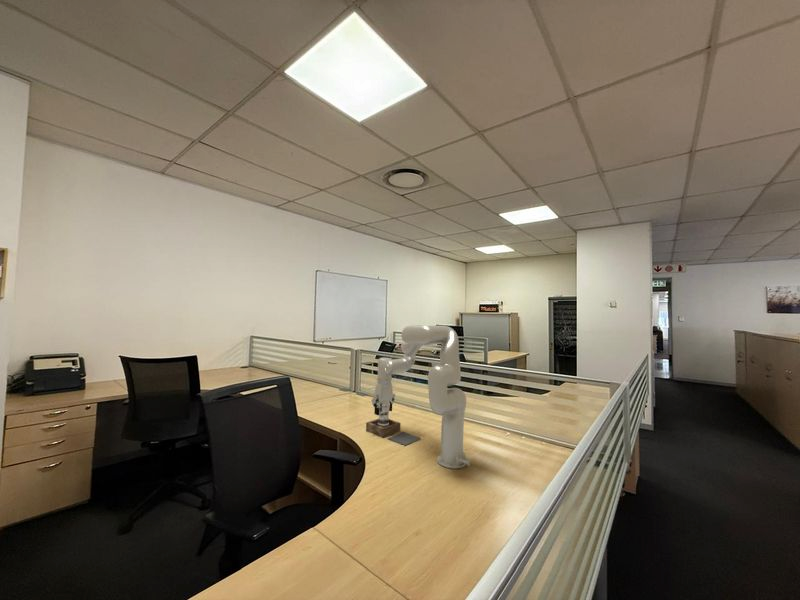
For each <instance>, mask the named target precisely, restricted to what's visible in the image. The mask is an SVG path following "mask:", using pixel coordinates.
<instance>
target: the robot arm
mask: <svg viewBox="0 0 800 600" xmlns="http://www.w3.org/2000/svg"><path fill="white" fill-rule="evenodd" d="M400 334H401V335H400V336H401V339H402V343H401V346H400V348H401V349H400V350H401V351H402V352H403V354H404V355H403V357H402V358H395V359H392V358H391V357H380V358H378V360H377V383H376V384H375V387H374V388H375V389H374V395H373V396H374V397H373V398H372V399H371V404H372V406H373V407H374V415H376V416H379V412H380V408H379V406H380V404H382V403H384V402H385V401H386V400H389V402H390V408H389V412H393V404H394V402H395V398H396V393H393V383H392V380H393V378H392V377H393V376H392V375H397V374H403V373H407V371H409V370H410V369H411V368H412V367H413V365H415V361H416V354H417V352H419V351H420V349H421V348H422V347H423V346H431V345H432V346H434V345H435V346H436V345H441V348H440V351H439V364H436V365H434V366H432V367H431V368H430V369H429V371H428V375H427V385H428V386H427V389H428V390H427V391H428V400H429V405H430V408H431V410H432V413H434V414H435V415H438V416H442V417H441V429H440V431H441V435H440V438H441V439H440V440H441V442H440V454H439V455H438V456H437V458H436V461H437V463H438V464H439V465H440V466H442V467H444V468H447V469H454V470H455V469H462V468H464V467H465V466H469V467H470V465H471V458H469V457H466V452H464V425H465V413H466V407H467V396H466V394H465V392H464V391H463V390H462V389H461V388H457V387H451V386H455V385H457V384H459V383H460V381H461V380H462V375H461V361H460V349H459V348H460V346H459V345H460V342H459V341H460V340H459V336H458V334H457V332H456V330H454V328H452V327H451V326H448V325H421V324H417V325H416V324H415V325H413V324H412V325H407V326H405V327H404V328H403V329H402V331H401V333H400ZM448 387H449V388H448ZM450 387H451V388H450Z"/></svg>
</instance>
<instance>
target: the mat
mask: <svg viewBox="0 0 800 600" xmlns="http://www.w3.org/2000/svg"><path fill="white" fill-rule="evenodd" d="M386 438H387V440H388V441H391V442H393V443H395V444H398V445H402V446H403V445H404V447H406V446H409V445H411V444H413V442H414V443H416V442H417V440H418V441H420V440H422V438H421V437H419V436H418V435H417V436H416V435H414V434H410V433H408V432H404V431H402V432H401V431H400V432H398V433H395V434H393V435H390V436H388V437H386ZM415 441H416V442H415Z"/></svg>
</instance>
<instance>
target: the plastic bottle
mask: <svg viewBox="0 0 800 600" xmlns="http://www.w3.org/2000/svg"><path fill="white" fill-rule="evenodd" d="M379 408H380V412H379V415H378V418H377V419H378V424H377V425H378V426H381V427H383V428H384V427H387V426H389V415H390V411H389V408H390V402H389V400H386V401H385V402H384V403H382V404H380V406H379Z"/></svg>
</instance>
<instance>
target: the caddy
mask: <svg viewBox="0 0 800 600" xmlns="http://www.w3.org/2000/svg"><path fill="white" fill-rule="evenodd" d="M378 419H379V418H377V419H372V420H371V421H367V422H366V424H365V425H366V426H365V432H366V433H370V434H372V435H375V436H377V437H380V438H382V439H384V438H388V437H391V436H393V435H396V434H398V433H401V422H399V421H396V420H392V419H389V426H387V427H384V428H383V427H381V426H378V425H377V424H378Z"/></svg>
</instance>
